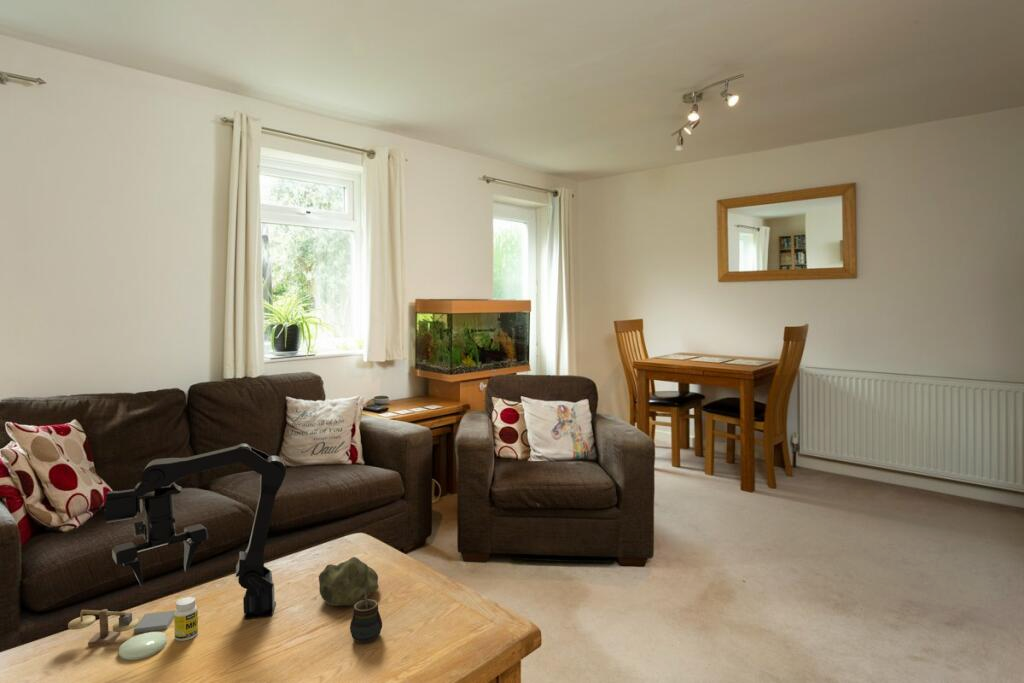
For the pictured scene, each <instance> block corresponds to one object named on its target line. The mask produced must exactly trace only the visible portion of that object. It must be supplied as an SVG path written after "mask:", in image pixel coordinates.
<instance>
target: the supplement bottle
mask: <svg viewBox="0 0 1024 683" xmlns="http://www.w3.org/2000/svg"><path fill="white" fill-rule="evenodd" d="M196 601H197V600H196V597H194V596H187V597H182V598H180V599H178V600H177V601H176V602H175V610H176V611H175V613H174V619H173V620H174V621H173V622H174V639H175V640H176V641H179V642H183V641H184V642H185V641H188V640H190V639H193V638H195V637H196V636H197V635H198V632H199V625H198V623H199V621H198V620H199V618H198V613H199V612H198V607H197V604H196Z"/></svg>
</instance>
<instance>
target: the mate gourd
mask: <svg viewBox="0 0 1024 683" xmlns="http://www.w3.org/2000/svg"><path fill="white" fill-rule="evenodd" d="M364 596H365V598H364V599H362V600H361V601H359V602H357V603H356V604H355V605H353V607H352V609H353V614H352V618H351V619H350V620H351V621H350V624H349V630H350V635H351V638H352V639H353V640H354V641H355V642H357V643H359V644H369V643H372V642H374V641H375V640H376V639H377V638H378V637H379V636H380V634H381V632H382V628H383V621H382V617H381V613H380V611H379V603H378V601H376V600H375V599H370V598H369V599H368V596H367V593H366V589H364Z"/></svg>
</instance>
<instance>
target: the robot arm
mask: <svg viewBox="0 0 1024 683" xmlns="http://www.w3.org/2000/svg"><path fill="white" fill-rule="evenodd" d="M238 463H239V464H240V463H241V464H243V465H244V466H246V467H248V468H249V469H251V470H252V471H254V472H255V473H257V474H259V475H260V476H259V478H260V480H259V482H260V483H259V484H260V485H259V486H260V487H259V489H260V492H259V496H258V500H257V506H256V509H255V514H254V517H253V518H254V520H253V525H252V529H251V531H250V532H251V534H250V537H249V542H248V545H247V547H246V549H245V551H241V550H239V555H238V561H237V563H236V565H235V577H236V578H238V580H237V581H238V585H239V586H240V587H241V588H243V589H244V590H245V589H246V590H245V593H244V595H243V598H242V600H243V601H242V602H243V606H242V607H243V614H244V620H248V619H249V620H250V619H256V618H264V617H271V616H273V615H274V611H275V608H276V605H277V602H276V600H275V583H274V582H273V575H272V574H273V573H272V571H271V569H270V568H267V567H266V566H265V547H266V541H267V538H268V534H269V529H270V524H271V519H272V514H273V511H274V506H275V503H276V502H275V501H276V497H277V494H278V492H279V491H280V489H281V487H282V484H283V482H284V480H285V477H286V474H287V469H286V468H287V467H286V464H285V462H284V459H282V457H280V456H278V455H269V454H267V453H266V452H264V451H262V450H259V449H256V448H255V447H252V446H251V445H249V444H248V443H239V444H237V445H233V446H229V447H227V448H222V449H218V450H213V451H210V452H205V453H200V454H197V455H196V454H195V455H191V456H188V457H187V456H186V457H167V458H166V457H165V458H156V459H153V460H151V461H150V462H149V463H147V465H146V466H145V468H144V469H143V470H142V472H141V476H140V480H141V481H140V482H138V483H137V484H136V485H135V487H134V488H131V489H130V488H129V489H125V490H111V491H108V492H107V493H106V495H105V505H104V510H103V515H104V516H103V517H104V521H105V523H112V522H113V523H114V522H120V521H126V520H132V519H137V517H138V514H142V513H143V508H144V512H145V522H144V521H142V520H141V521H137V522H133V523H132V531H133V536H134V537H138V536H143V539H144V541H146V542H143V543H140V544H137V545H136V544H135V543H134V542H133V541H128V542H125V543H121V544H117V545H114V547H113V548H112V550H111V554H112V556H111V558H112V559H113V561H114V563H115V564H116V565H118V566H119V565H123V567H130V569H131V570H132V572H133V573H134V575H135V577H136V580H137V581H138V583H139V586H140V587H142V586H144V578H143V573H142V566H141V562H140V561H141V560H140V559H139V558H138V557H139V554H141V553H144V552H148V551H152V550H155V549H159V548H162V547H163V548H164V547H166V546H169V545H173V544H174V545H175V544H177V543H181V542H183V547H184V548H183V549H184V550H183V551H184V552H183V570H184V572H185V573H187V572H188V571H189V568H190V566H191V563H192V561H193V558H194V556H195V554H196V552H197V550H198V549H199V547H200V546H202V545H203V542H206V541H208V540H209V532H208V531H209V530H208V528H206V527H205V526H204V525H202V524H201V523H198V524H194V525H193V524H192V525H189V526H185V527H184V528H183V532H181V533H176V517H175V509H174V508H175V506H174V496H173V495H178V494H181V493H182V489H183V488H182V486H180V485H178V484H176V482H177V481H179V480H181V479H183V478H185V477H187V476H191V475H194V474H197V473H199V474H200V473H203V472H206V471H210V470H214V469H218V468H222V467H226V466H231V465H234V464H238ZM152 490H154V491H152ZM143 500H144V501H143ZM143 502H144V505H143ZM144 523H145V524H144Z"/></svg>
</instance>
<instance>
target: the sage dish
mask: <svg viewBox="0 0 1024 683" xmlns="http://www.w3.org/2000/svg"><path fill="white" fill-rule="evenodd" d="M167 640H168V639H167V634H165V633H164V632H161V631H148V632H143V633H139V634H138V635H135V636H133V637H131V638H129V639H126V641H124V642H123V643H122V644H121V645H120V646H119V648H118V654H119V658H120V659H121V660H124V661H137V660H142V659H145V658H148V657H152V656H153V655H155V654H157V653H158V652H160V651H162V650H163V649H164V648H165V646H166V645H167V642H168V641H167Z"/></svg>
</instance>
